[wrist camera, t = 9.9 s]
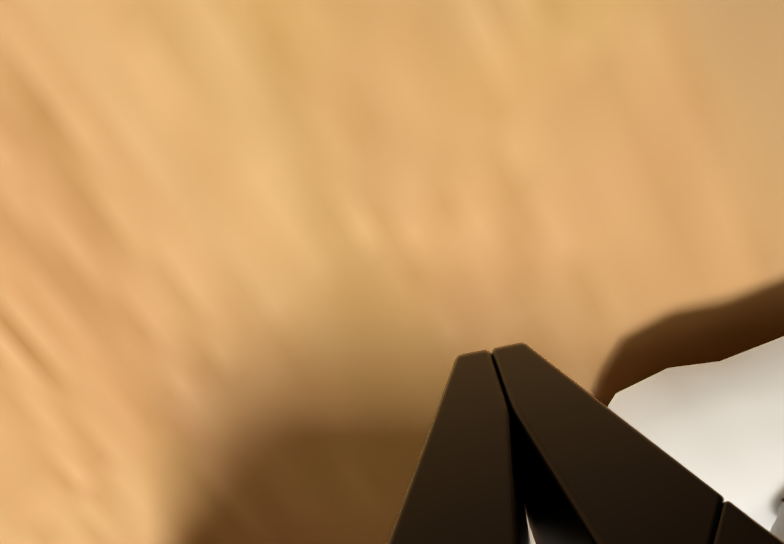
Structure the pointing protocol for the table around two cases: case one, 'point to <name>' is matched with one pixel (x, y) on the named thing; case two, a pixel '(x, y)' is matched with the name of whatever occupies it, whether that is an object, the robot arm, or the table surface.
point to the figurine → (720, 426)
